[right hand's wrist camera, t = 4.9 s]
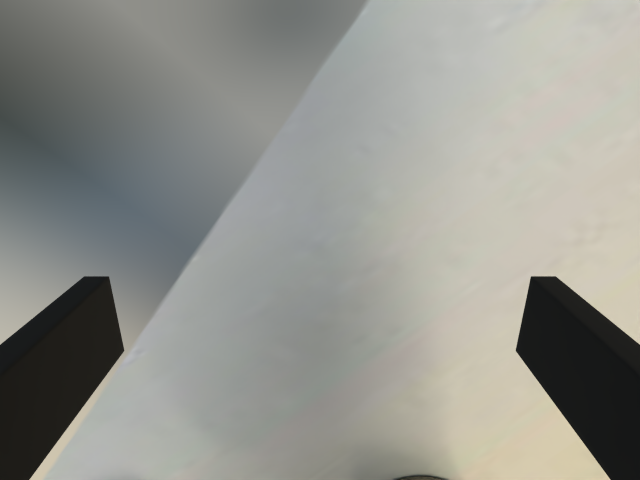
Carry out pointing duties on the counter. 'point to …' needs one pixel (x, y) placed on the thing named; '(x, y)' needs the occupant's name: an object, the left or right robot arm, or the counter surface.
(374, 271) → the counter surface
